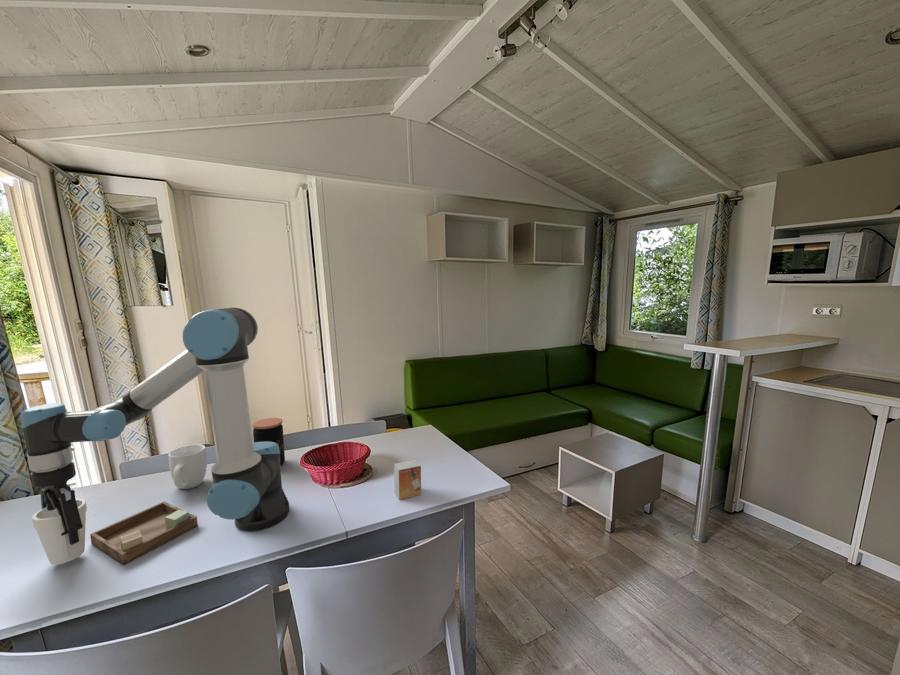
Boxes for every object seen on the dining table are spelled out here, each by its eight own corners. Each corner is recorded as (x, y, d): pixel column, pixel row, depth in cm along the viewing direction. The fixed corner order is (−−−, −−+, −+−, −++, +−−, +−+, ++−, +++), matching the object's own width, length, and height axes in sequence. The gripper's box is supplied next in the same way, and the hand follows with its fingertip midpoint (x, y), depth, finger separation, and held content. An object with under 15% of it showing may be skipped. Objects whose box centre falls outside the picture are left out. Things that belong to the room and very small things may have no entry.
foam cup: (59, 571, 91) (50, 522, 89) (30, 566, 93) (21, 518, 91) (102, 545, 100) (95, 500, 98) (75, 541, 102) (68, 497, 100)
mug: (196, 496, 127) (192, 460, 125) (159, 500, 125) (155, 463, 123) (213, 475, 141) (210, 442, 140) (180, 479, 139) (177, 445, 137)
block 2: (189, 524, 111) (188, 511, 110) (176, 532, 107) (175, 519, 106) (179, 522, 112) (178, 509, 111) (166, 530, 108) (164, 517, 108)
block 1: (143, 550, 100) (142, 536, 99) (124, 558, 97) (122, 543, 96) (140, 543, 102) (139, 529, 102) (121, 550, 100) (120, 537, 99)
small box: (398, 500, 124) (398, 470, 122) (394, 492, 129) (393, 463, 128) (421, 494, 127) (421, 465, 126) (416, 487, 132) (415, 458, 131)
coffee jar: (277, 471, 144) (274, 426, 142) (250, 471, 144) (246, 427, 142) (289, 459, 155) (287, 417, 152) (264, 459, 155) (261, 417, 153)
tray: (197, 525, 111) (196, 516, 111) (123, 565, 95) (122, 554, 95) (165, 510, 119) (164, 501, 119) (91, 544, 103) (90, 534, 103)
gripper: (92, 468, 92) (105, 552, 94) (55, 452, 102) (68, 528, 105) (49, 482, 85) (64, 572, 88) (14, 463, 95) (29, 544, 98)
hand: (66, 548), depth 96 cm, fingers closed on foam cup, 9 cm apart
